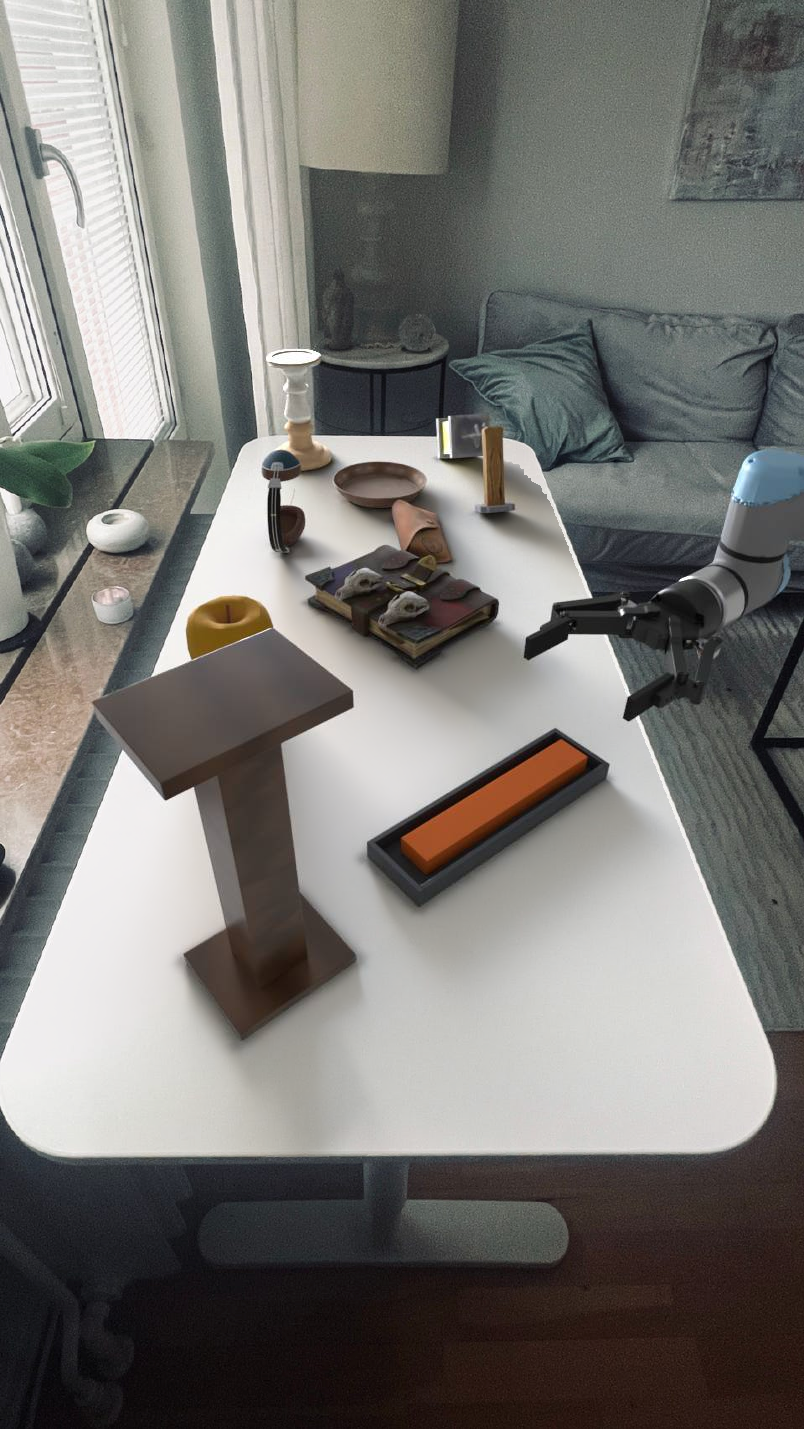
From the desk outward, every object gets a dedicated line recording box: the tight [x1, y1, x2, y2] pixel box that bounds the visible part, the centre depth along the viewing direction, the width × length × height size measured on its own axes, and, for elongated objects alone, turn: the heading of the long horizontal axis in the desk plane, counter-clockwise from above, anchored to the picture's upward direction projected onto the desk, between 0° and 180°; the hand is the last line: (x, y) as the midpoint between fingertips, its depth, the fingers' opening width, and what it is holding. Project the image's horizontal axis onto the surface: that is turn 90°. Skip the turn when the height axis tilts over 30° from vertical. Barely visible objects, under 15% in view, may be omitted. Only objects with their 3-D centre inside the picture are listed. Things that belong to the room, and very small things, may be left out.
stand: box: [91, 627, 357, 1041], centre depth 62 cm, size 14×10×30 cm
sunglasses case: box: [390, 500, 452, 565], centre depth 135 cm, size 18×7×7 cm
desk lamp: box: [435, 412, 516, 514], centre depth 151 cm, size 8×17×30 cm
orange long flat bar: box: [401, 739, 588, 875], centre depth 85 cm, size 24×4×2 cm, turn 129°
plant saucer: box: [332, 460, 428, 509], centre depth 149 cm, size 18×18×3 cm
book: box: [304, 544, 500, 670], centre depth 116 cm, size 26×18×7 cm
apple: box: [185, 594, 274, 661], centre depth 98 cm, size 11×11×13 cm
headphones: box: [261, 449, 306, 554], centre depth 131 cm, size 6×15×22 cm
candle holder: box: [265, 348, 332, 472], centre depth 157 cm, size 12×12×20 cm
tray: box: [366, 727, 611, 908], centre depth 85 cm, size 28×8×2 cm, turn 130°
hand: (574, 678), depth 82 cm, fingers open, 13 cm apart
